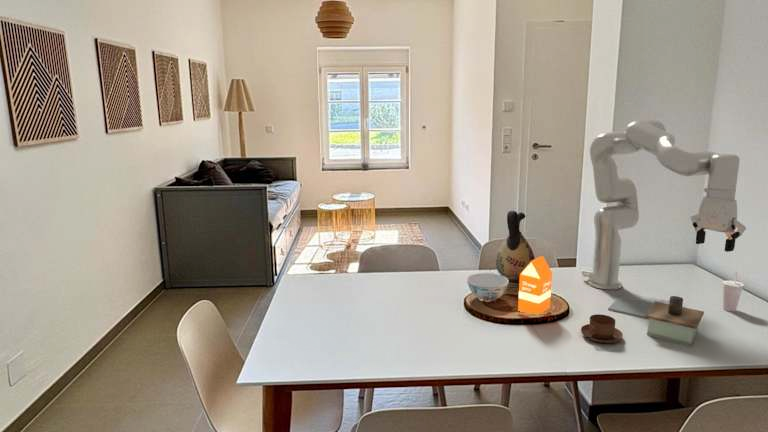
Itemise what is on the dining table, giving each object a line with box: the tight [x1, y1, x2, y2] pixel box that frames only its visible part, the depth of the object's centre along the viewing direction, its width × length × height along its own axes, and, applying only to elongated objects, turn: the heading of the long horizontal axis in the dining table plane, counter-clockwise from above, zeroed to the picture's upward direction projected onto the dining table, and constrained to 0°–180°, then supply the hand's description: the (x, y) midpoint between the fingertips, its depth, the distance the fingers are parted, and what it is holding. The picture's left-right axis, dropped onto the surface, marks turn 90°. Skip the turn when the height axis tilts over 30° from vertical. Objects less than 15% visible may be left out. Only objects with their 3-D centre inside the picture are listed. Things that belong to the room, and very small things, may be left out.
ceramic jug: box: [495, 210, 536, 286], centre depth 208 cm, size 17×15×30 cm
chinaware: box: [466, 272, 509, 300], centre depth 193 cm, size 15×15×8 cm
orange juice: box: [517, 255, 553, 315], centre depth 179 cm, size 8×9×20 cm
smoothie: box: [721, 270, 745, 313], centre depth 181 cm, size 6×6×14 cm
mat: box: [607, 295, 654, 320], centre depth 184 cm, size 15×15×1 cm
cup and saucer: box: [580, 313, 624, 344], centre depth 162 cm, size 12×12×6 cm
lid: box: [644, 295, 705, 329], centre depth 162 cm, size 14×14×6 cm
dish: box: [646, 319, 699, 347], centre depth 164 cm, size 12×12×6 cm
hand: (714, 247), depth 165 cm, fingers open, 9 cm apart
